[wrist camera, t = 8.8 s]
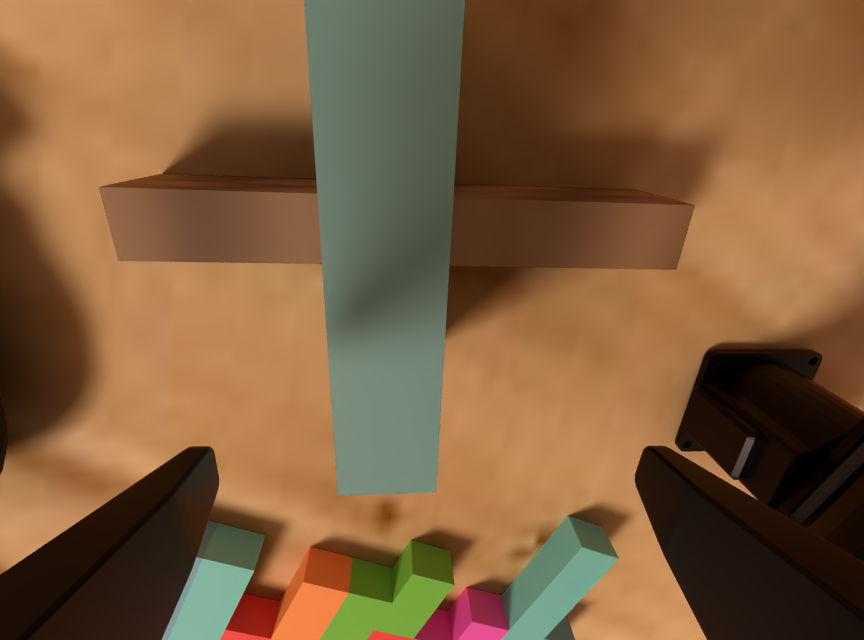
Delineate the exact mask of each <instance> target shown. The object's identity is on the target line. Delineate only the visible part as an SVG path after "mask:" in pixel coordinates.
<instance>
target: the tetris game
mask: <svg viewBox="0 0 864 640" xmlns="http://www.w3.org/2000/svg"><path fill="white" fill-rule="evenodd" d="M264 538H265V535H263V534H259V533H255V532H251V531H247V530H243V529H239V528H236V527H232V526H228V525H224V524H220V523H216V522H212V521H208V523H207V526H206V529H205V532H204V535H203V538H202V542H201V545H200V548H199V551H198V554H197V557H196V560H195V563H194V566H193V568H192V571H191V573H190V576H189V578H188V581H187V583H186V585H185V588H184V590H183V592H182V594H181V597H180V599H179V601H178V604H177V606H176V608H175V610H174V613H173V615H172V617H171V620H170V622H169V624H168V626H167V629H166V631H165V633H164V636H163V638H162V640H575V638H574V635H573V632H572V630H571V627H570V624H569V621H568V618H567V614H568V613H569V612H570V611H571V610H572V608H573V607H574V606H575V605H576V604H577V603H578V602H579V601H580V600H581V599H582V598H583V597H584V596H585V595H586V593H587V592H588V591H589V590H590V589H591V588H592V587H593V586H594V585H595V584H596V583H597V582H598V581H599V580H600V579H601V577H602V576H603V575H604V574H605V573H606V572H607V571H608V570H609V569H610V568H611V567H612V566H613V565H614V564H615V562H616V561H617V560H618V559H619V558H618V556H617V554H616V552H615V550H614V548H613V546H612V544H611V543H610V541H609V539H608V537H607V535H606V533H605V531H604V529H603V527H601V526H598V525H595V524H592V523H589V522H586V521H583V520H580V519H577V518H574V517H571V516H567V517H566V518H565V519H564V521H563V522H562V523H561V524H560V525H559V527H558V528H557V529H556V530H555V532H554V533H553V534H552V535H551V536H550V538H549V539H548V540H547V541H546V542H545V544H544V545H543V546H542V547H541V548H540V550H539V551H538V552H537V553H536V554H535V556H534V557H533V558H532V559H531V560H530V562H529V563H528V564H527V565H526V566H525V568H524V569H523V570H522V571H521V572H520V574H519V575H518V576H517V577H516V578H515V580H514V581H513V582H512V583H511V584H510V586H509V587H508V588H507V589H506V591H505V592H504V593H503V594H502V595H501V596H500V595H496V594H492V593H488V592H484V591H481V590H477V589H473V588H469V587H466V588H465V590H464V591H463V592H462V594H461V595H460V596H459V597H458V599H457V600H456V601H455V603H454V604H453V605H452V606H451V608H450V609H449V610H448V611H444V610H440V609H437V607H438V606H439V605H440V603H441V602H442V601H443V599H444V598H445V597H446V595H447V594H448V593H449V591H450V590H451V589H452V587H453V586H454V577H453V570H452V562H451V555H450V551H449V550H446V549H442V548H439V547H435V546H431V545H428V544H424V543H421V542H417V541H414V540H411V541H410V542H409V544H408V545H407V547H406V548H405V550H404V551H403V553H402V554H401V556H400V557H399V559H398V560H397V562H396V563H395V565H394V566H393V568H391V567H387V566H383V565H379V564H376V563H372V562H368V561H364V560H360V559H356V558H352V557H348V556H344V555H341V554H337V553H333V552H329V551H325V550H321V549H317V548H313V547H310V548H309V550H308V551H307V553H306V555H305V557H304V559H303V560H302V562H301V564H300V566H299V568H298V570H297V571H296V573H295V575H294V577H293V579H292V580H291V582H290V584H289V586H288V588H287V590H286V591H285V593H284V595H283V597H282V599H281V600H280V601H276V600H272V599H267V598H262V597H258V596H253V595H249V594H244V591H245V589H246V587H247V585H248V583H249V581H250V579H251V577H252V575H253V573H254V571H255V567H256V564H257V561H258V558H259V554H260V551H261V548H262V545H263V542H264Z"/></svg>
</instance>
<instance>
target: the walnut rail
mask: <svg viewBox="0 0 864 640" xmlns="http://www.w3.org/2000/svg"><path fill="white" fill-rule="evenodd" d="M99 190H100V193H101V197H102V201H103V205H104V208H105V212H106V216H107V220H108V223H109V227H110V231H111V234H112V238H113V242H114V246H115V249H116V253H117V257H118V261H167V262H230V263H293V264H322V255H321V240H320V226H319V211H318V196H317V181H316V179H297V178H267V177H237V176H208V175H178V174H158V175H154V176H149V177H144V178H139V179H135V180H130V181H125V182H120V183H115V184H111V185H106V186H101V187H99ZM694 207H695V205H692V204H688V203H684V202H680V201H677V200H673V199H669V198H665V197H662V196H658V195H654V194H650V193H646V192H643V191H639V190H621V189H592V188H562V187H533V186H503V185H474V184H454V197H453V214H452V230H451V247H450V264H449V266H483V267H546V268H610V269H673V270H676V269H677V266H678V262H679V259H680V255H681V252H682V248H683V245H684V241H685V238H686V234H687V231H688V227H689V224H690V220H691V217H692V214H693V210H694Z"/></svg>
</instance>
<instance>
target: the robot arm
mask: <svg viewBox="0 0 864 640" xmlns="http://www.w3.org/2000/svg"><path fill="white" fill-rule="evenodd" d="M716 358H717V359H716ZM715 359H716V360H715ZM714 360H715V361H714ZM713 361H714V362H713ZM821 362H822V355H821V354H819V353H817V352H815V351H814V350H712V351H710V352H708V353H707V354H706V355H705V357H704V359H703V362H702V364H701V367H700V370H699V373H698V376H697V379H696V382H695V385H694V387H693V390H692V393H691V396H690V399H689V402H688V405H687V408H686V411H685V413H684V416H683V419H682V422H681V425H680V428H679V431H678V434H677V436H676V439H675V444H676V446H677V447H678V448H679V449H680V450H681V451H706V452H707V453H708V454H709V455H710V456H711V457H712V458H713V459H714V461H715V462H716V463H717V464H718V465H719V466H720V467H721V468H722V469H723V470H724V471H725V472H726V473H727V474H728V475H729V476H730V477H731V478H732V479H733V480H739V481H740V482H741V483H742V484H743V485H744V486H745V487H746V488H747V489H748V490H749V491H750V492H751V493H752V494H753V495H754V497H755V498H756V499H755V498H753V497H751V496H750V495H748V494H746V493H745V492H743V491H741V490H740V489H738V488H736V487H734V486H733V485H731V484H729V483H728V482H726V481H724V480H723V479H721V478H719V477H717V476H716V475H714V474H712V473H711V472H709V471H707V470H706V469H704V468H702V467H700V466H699V465H697V464H695V463H694V462H692V461H690V460H689V459H687V458H685V457H683V456H682V455H680V454H678V453H677V452H675V451H673V450H672V449H670V448H668V447H666V446H647V447H645V448H644V450H643V452H642V455H641V458H640V461H639V464H638V467H637V470H636V473H635V484H636V487H637V490H638V492H639V495H640V497H641V500H642V502H643V505H644V507H645V510H646V512H647V515H648V517H649V520H650V522H651V525H652V527H653V530H654V532H655V535H656V537H657V540H658V542H659V545H660V547H661V549H662V552H663V554H664V556H665V558H666V560H667V562H668V564H669V566H670V568H671V570H672V572H673V574H674V576H675V578H676V580H677V582H678V584H679V586H680V588H681V590H682V592H683V594H684V596H685V598H686V600H687V602H688V604H689V606H690V607H691V609H692V611H693V613H694V615H695V617H696V619H697V621H698V623H699V625H700V627H701V629H702V631H703V633H704V635H705V637H706V639H707V640H864V412H863V411H861V410H860V409H858V408H856V407H855V406H853V405H851V404H850V403H848V402H847V401H845V400H843V399H842V398H840V397H838V396H837V395H835V394H833V393H832V392H830V391H828V390H827V389H825V388H824V387H822V386H820V385H819V384H817V383H815V382H814V381H812V380H813V378H814V376H815V374H816V372H817V370H818V368H819V366H820V364H821ZM218 487H219V475H218V469H217V464H216V459H215V453H214V450H213V449H212V448H211V447H209V446H192V447H188V448H187V449H185V450H184V451H182V452H181V453H179V454H178V455H176V456H175V457H173V458H172V459H170V460H169V461H167V462H166V463H164V464H163V465H161V466H160V467H158V468H157V469H156V470H154V471H153V472H151V473H150V474H148V475H147V476H145V477H144V478H142V479H141V480H139V481H138V482H136V483H135V484H133V485H132V486H130V487H129V488H128V489H126V490H125V491H123V492H122V493H120V494H119V495H117V496H116V497H114V498H113V499H111V500H110V501H108V502H107V503H105V504H104V505H103V506H101V507H100V508H98V509H97V510H95V511H94V512H92V513H91V514H89V515H88V516H86V517H85V518H83V519H82V520H80V521H79V522H77V523H76V524H75V525H73V526H72V527H70V528H69V529H67V530H66V531H64V532H63V533H61V534H60V535H58V536H57V537H55V538H54V539H52V540H51V541H49V542H48V543H47V544H45V545H44V546H42V547H41V548H39V549H38V550H36V551H35V552H33V553H32V554H30V555H29V556H27V557H26V558H24V559H23V560H21V561H20V562H19V563H17V564H16V565H14V566H13V567H11V568H10V569H8V570H7V571H5V572H4V573H2V574H1V575H0V640H162V638H163V636H164V633H165V631H166V629H167V626H168V624H169V622H170V620H171V617H172V615H173V613H174V610H175V608H176V606H177V604H178V601H179V599H180V597H181V594H182V592H183V590H184V588H185V585H186V583H187V581H188V578H189V576H190V573H191V571H192V568H193V566H194V563H195V560H196V557H197V554H198V551H199V548H200V545H201V542H202V538H203V535H204V532H205V529H206V526H207V523H208V520H209V516H210V513H211V510H212V507H213V504H214V501H215V498H216V494H217V491H218Z"/></svg>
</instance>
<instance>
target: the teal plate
mask: <svg viewBox="0 0 864 640" xmlns="http://www.w3.org/2000/svg"><path fill="white" fill-rule="evenodd" d="M304 5H305V20H306V34H307V49H308V64H309V78H310V93H311V108H312V123H313V137H314V152H315V167H316V181H317V196H318V211H319V226H320V240H321V255H322V270H323V284H324V299H325V314H326V329H327V343H328V358H329V373H330V387H331V402H332V417H333V432H334V446H335V461H336V476H337V490H338V496H343V495H371V494H399V493H427V492H436V484H437V467H438V450H439V433H440V416H441V399H442V382H443V366H444V349H445V332H446V315H447V298H448V281H449V264H450V247H451V230H452V214H453V197H454V180H455V163H456V146H457V129H458V112H459V95H460V78H461V61H462V45H463V28H464V11H465V0H304Z"/></svg>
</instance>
